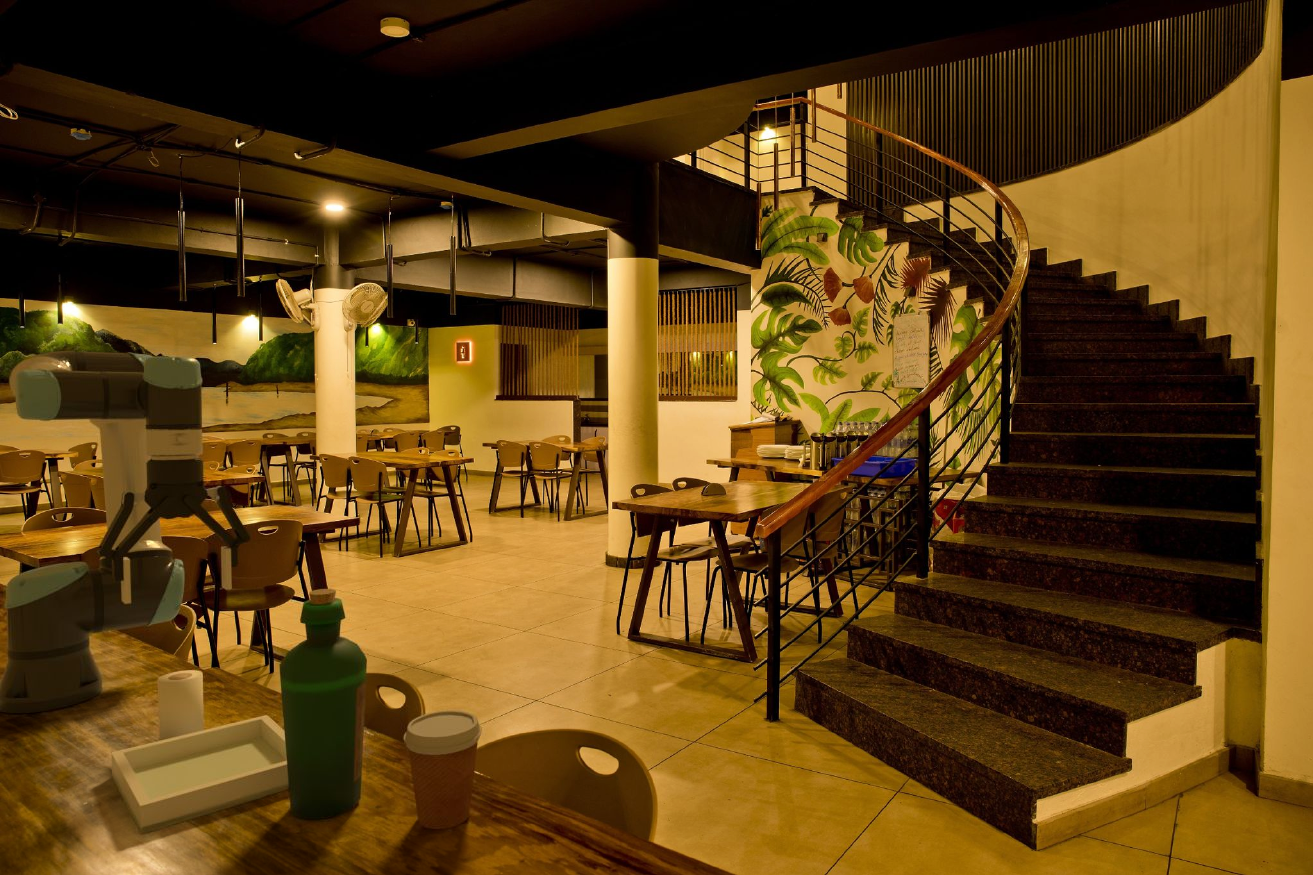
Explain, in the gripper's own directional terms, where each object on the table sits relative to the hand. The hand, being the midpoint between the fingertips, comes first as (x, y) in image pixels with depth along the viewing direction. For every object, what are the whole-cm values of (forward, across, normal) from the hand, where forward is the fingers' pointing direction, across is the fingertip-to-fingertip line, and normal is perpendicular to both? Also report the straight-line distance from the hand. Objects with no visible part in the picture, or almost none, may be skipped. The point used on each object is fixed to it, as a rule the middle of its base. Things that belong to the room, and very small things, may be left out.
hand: (178, 595), depth 124 cm
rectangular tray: (+23, 0, -18) cm, 29 cm away
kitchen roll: (+23, 0, 0) cm, 23 cm away
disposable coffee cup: (+23, +19, -49) cm, 57 cm away
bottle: (+23, +9, -36) cm, 44 cm away
